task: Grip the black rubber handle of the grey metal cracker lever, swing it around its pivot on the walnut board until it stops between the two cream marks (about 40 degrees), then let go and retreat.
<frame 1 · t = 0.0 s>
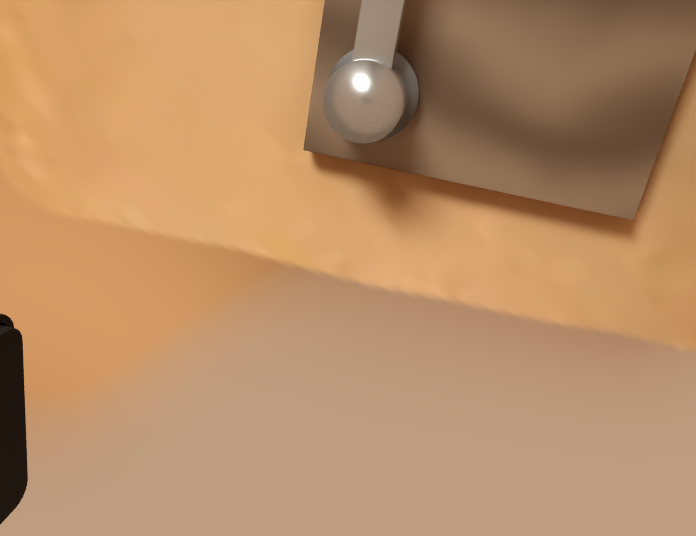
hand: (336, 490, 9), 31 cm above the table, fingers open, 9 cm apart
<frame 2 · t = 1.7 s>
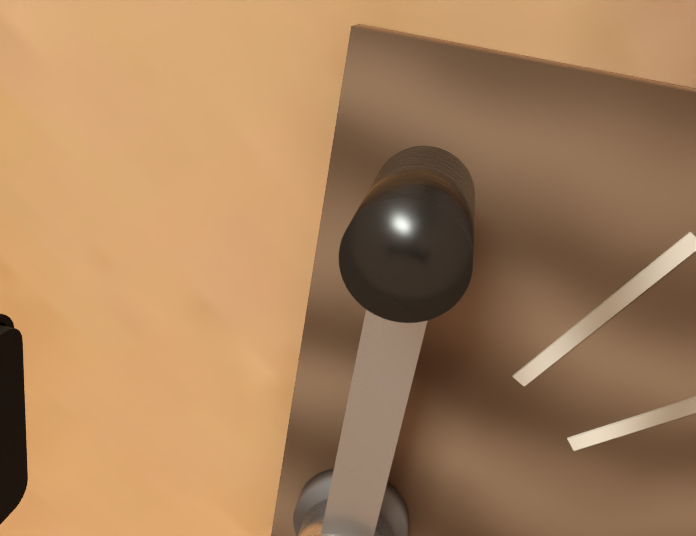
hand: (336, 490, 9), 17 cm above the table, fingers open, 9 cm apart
cracker board: (536, 379, 26), on the table
lever: (365, 447, 21), point 6 cm above the table, hinge at 0.0°
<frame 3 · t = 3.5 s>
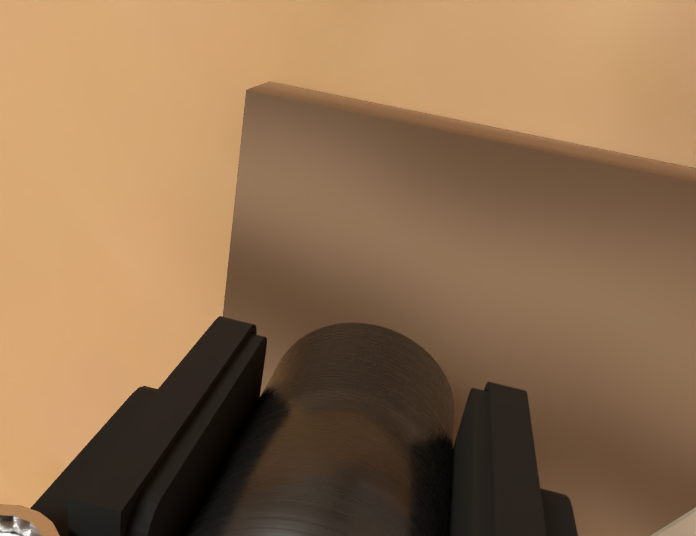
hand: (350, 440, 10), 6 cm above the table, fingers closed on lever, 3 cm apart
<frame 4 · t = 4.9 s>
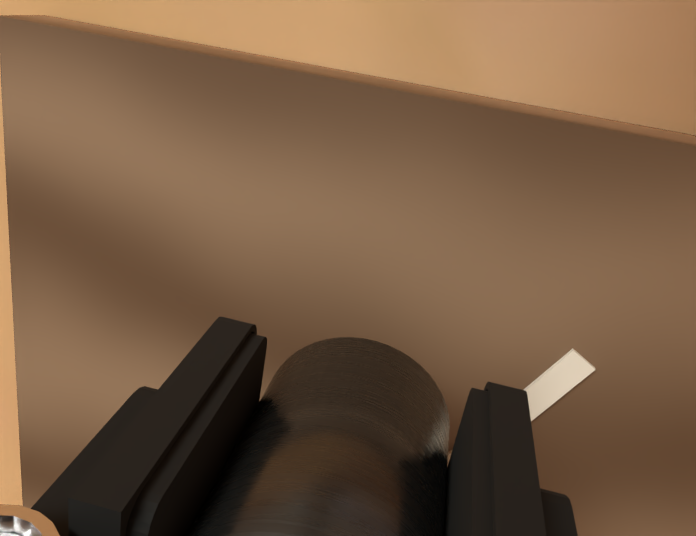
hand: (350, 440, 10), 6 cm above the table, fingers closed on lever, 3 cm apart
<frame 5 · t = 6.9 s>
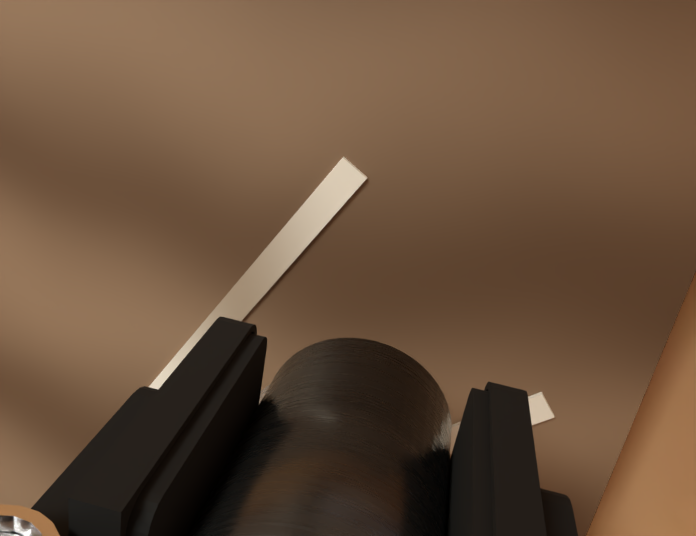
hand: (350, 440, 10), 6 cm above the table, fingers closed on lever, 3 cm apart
cracker board: (204, 411, 17), on the table
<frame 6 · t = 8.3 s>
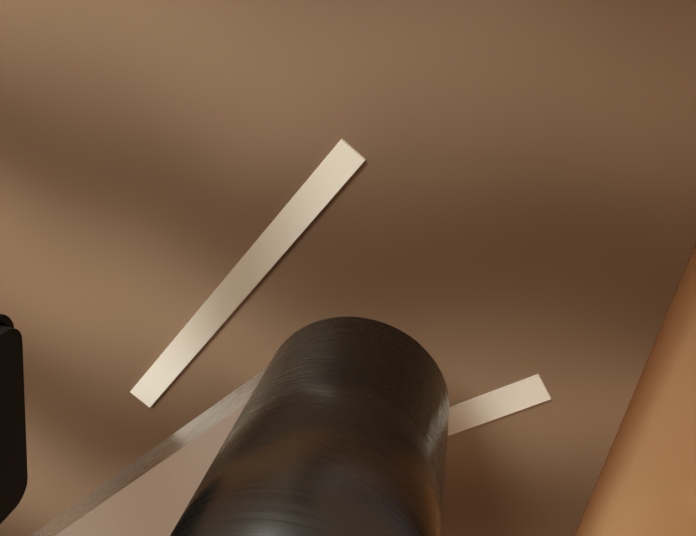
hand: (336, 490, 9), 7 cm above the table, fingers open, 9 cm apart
cracker board: (203, 395, 17), on the table
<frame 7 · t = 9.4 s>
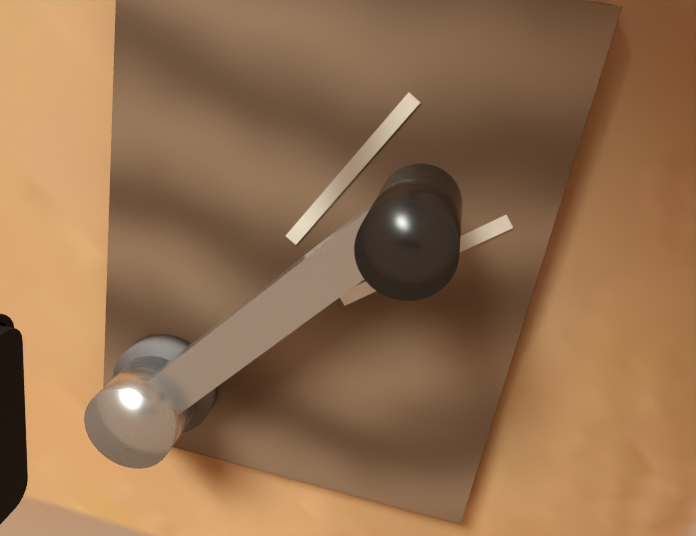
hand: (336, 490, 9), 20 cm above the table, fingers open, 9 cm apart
cracker board: (318, 247, 30), on the table
lever: (246, 344, 25), point 6 cm above the table, hinge at 39.5°
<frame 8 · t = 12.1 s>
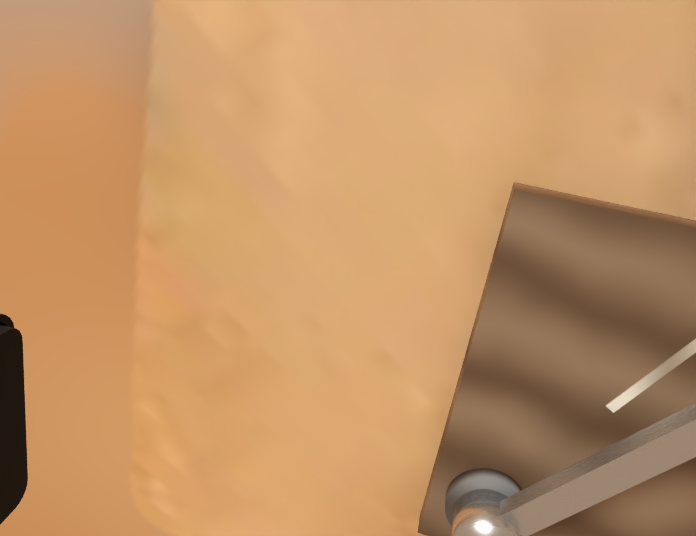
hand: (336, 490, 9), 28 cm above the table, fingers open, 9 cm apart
cracker board: (618, 407, 39), on the table
lever: (609, 503, 34), point 6 cm above the table, hinge at 39.5°
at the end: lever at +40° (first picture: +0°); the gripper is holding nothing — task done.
